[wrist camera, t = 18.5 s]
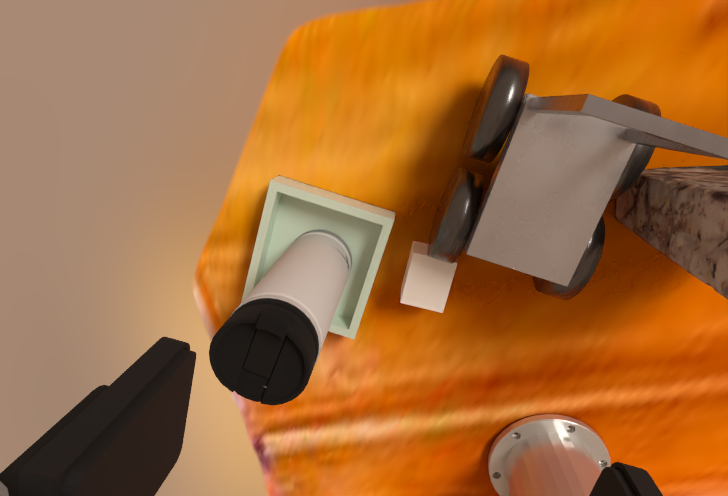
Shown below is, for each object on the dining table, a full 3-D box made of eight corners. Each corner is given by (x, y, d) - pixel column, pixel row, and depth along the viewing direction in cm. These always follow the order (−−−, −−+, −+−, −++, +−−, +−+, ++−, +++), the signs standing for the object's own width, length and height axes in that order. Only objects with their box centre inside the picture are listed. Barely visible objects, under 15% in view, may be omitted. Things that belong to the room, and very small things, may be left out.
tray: (357, 325, 48) (354, 339, 45) (250, 291, 48) (240, 303, 45) (395, 212, 44) (394, 219, 41) (279, 175, 44) (270, 180, 41)
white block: (440, 296, 46) (442, 312, 43) (401, 286, 47) (400, 302, 43) (453, 249, 45) (457, 263, 41) (413, 240, 45) (413, 252, 41)
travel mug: (363, 240, 45) (326, 341, 26) (338, 298, 47) (288, 431, 28) (303, 215, 45) (221, 298, 26) (281, 274, 47) (190, 391, 28)
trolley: (544, 279, 45) (644, 408, 26) (426, 241, 45) (437, 342, 26) (626, 102, 39) (827, 100, 20) (492, 59, 40) (567, 16, 20)
